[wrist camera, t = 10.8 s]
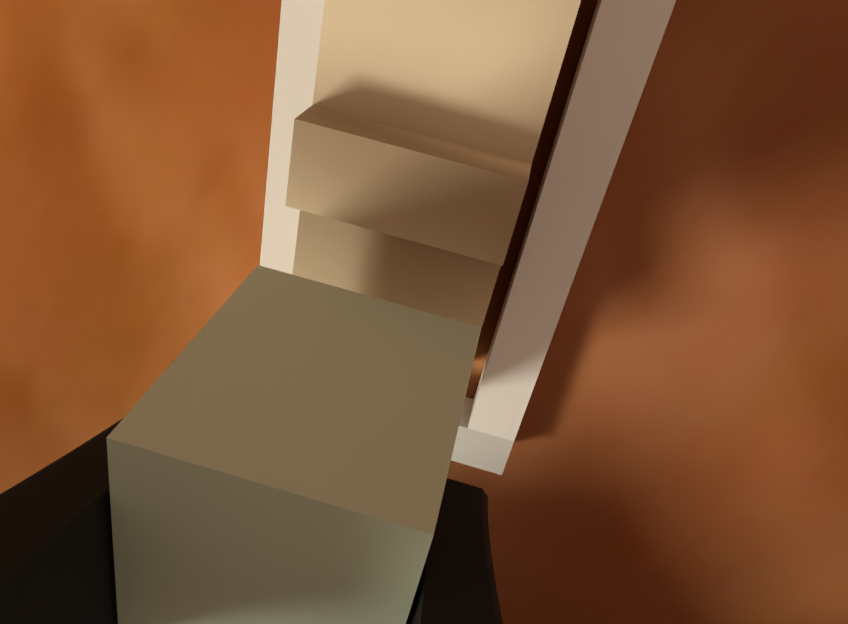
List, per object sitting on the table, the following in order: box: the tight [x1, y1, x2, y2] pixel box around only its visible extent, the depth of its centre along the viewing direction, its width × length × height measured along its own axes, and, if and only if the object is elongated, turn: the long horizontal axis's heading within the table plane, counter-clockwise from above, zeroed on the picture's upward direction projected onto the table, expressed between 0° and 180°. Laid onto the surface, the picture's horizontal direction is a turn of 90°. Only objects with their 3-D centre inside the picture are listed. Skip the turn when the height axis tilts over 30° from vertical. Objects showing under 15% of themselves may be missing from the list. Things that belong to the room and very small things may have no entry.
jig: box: [260, 0, 676, 475], centre depth 15 cm, size 14×7×1 cm, turn 168°
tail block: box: [106, 265, 481, 624], centre depth 10 cm, size 4×4×4 cm
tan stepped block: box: [285, 0, 581, 333], centre depth 13 cm, size 11×4×5 cm, turn 168°
